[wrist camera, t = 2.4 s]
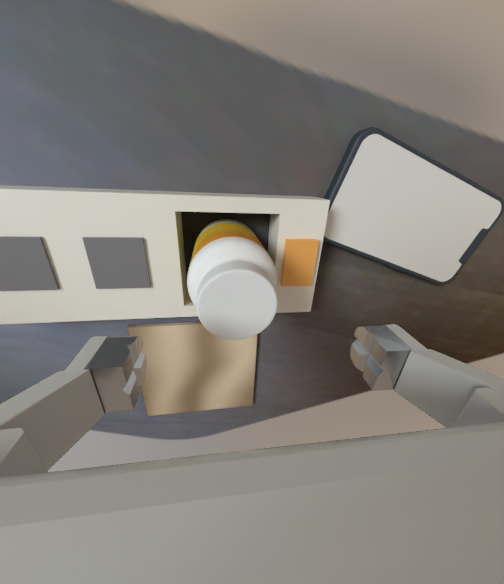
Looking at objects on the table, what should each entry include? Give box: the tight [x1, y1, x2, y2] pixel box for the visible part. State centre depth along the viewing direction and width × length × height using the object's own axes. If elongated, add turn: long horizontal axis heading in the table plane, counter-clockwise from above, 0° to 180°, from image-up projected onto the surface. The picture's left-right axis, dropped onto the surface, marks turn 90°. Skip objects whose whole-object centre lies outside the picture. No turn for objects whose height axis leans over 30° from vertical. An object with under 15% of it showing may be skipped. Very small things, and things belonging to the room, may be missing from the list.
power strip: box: [0, 185, 330, 324], centre depth 18 cm, size 24×9×4 cm, turn 88°
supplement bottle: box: [187, 219, 278, 340], centre depth 16 cm, size 5×5×10 cm
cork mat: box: [128, 322, 257, 416], centre depth 25 cm, size 12×12×1 cm
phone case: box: [323, 127, 504, 285], centre depth 21 cm, size 9×2×16 cm
